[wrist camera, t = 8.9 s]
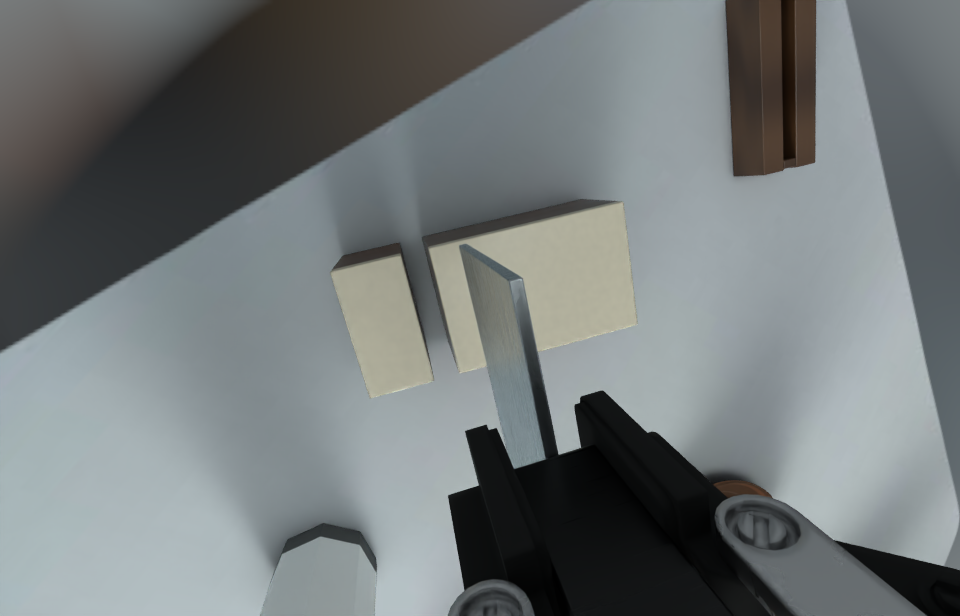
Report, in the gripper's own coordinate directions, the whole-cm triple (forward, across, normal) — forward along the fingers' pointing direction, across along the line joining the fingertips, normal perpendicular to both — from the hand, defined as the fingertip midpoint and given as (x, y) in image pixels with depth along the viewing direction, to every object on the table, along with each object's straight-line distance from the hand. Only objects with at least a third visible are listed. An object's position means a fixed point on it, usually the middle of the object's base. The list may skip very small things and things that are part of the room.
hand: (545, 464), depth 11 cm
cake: (+23, -5, 0) cm, 24 cm away
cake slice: (+23, +4, 0) cm, 23 cm away
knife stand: (+23, -26, -8) cm, 35 cm away
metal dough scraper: (+7, 0, 0) cm, 7 cm away
